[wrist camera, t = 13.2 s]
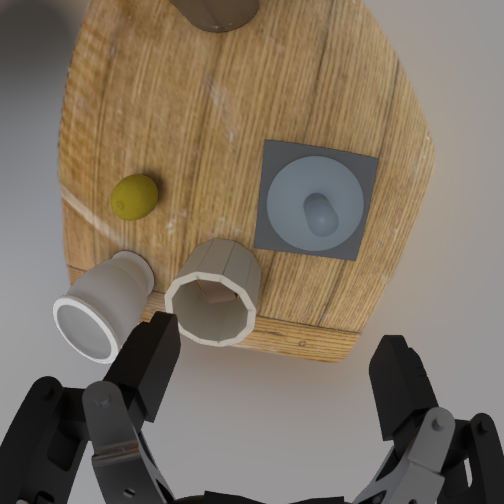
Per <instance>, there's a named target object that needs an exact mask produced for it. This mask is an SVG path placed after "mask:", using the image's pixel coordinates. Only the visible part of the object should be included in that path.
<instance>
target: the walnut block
mask: <svg viewBox="0 0 504 504" xmlns="http://www.w3.org/2000/svg"><path fill="white" fill-rule="evenodd" d="M199 281H200V283H201V286H202V288H203V291H204V293H205V296H206V298H207V300H208V303H214V302H221V301H228V300H235V299H237V295H238V293H236V292H235V291H233V290H231V289H230V288H228V287H227V286H225V285H224V284H222V283H221V282H216V281H209V280H202V279H199Z"/></svg>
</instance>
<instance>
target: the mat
mask: <svg viewBox="0 0 504 504" xmlns="http://www.w3.org/2000/svg"><path fill="white" fill-rule="evenodd" d="M307 156H324V157H328V158H331V159H334V160H336V161H338V162H340V163H341V164H343V165H344V166H346V167H347V168H348V169H349V170H350V171H351V172H352V173H353V174H354V176H355V177H356V178H357V180H358V182H359V184H360V186H361V189H362V193H363V199H364V208H363V214H362V217H361V220H360V222H359V225H358V226H357V228H356V230H355V231H354V232H353V233H352V235H351V236H350V237H349V238H348V239H346V240H345V241H344V242H342V243H341V244H339V245H337V246H335V247H333V248H330V249H326V250H321V251H308V250H303V249H300V248H297V247H294V246H292V245H290V244H289V243H287V242H286V241H284V240H283V239H282V238H281V237H280V236H279V235H278V234H277V232H276V231H275V230H274V228H273V226H272V225H271V222H270V220H269V217H268V212H267V197H268V191H269V188H270V185H271V183H272V181H273V179H274V178H275V176H276V175H277V174H278V172H279V171H280V170H281V169H282V168H283V167H285V166H286V165H287V164H289V163H290V162H292V161H294V160H296V159H299V158H302V157H307ZM378 160H379V159H377V158H373V157H368V156H364V155H359V154H355V153H350V152H345V151H339V150H334V149H328V148H323V147H317V146H310V145H304V144H297V143H289V142H282V141H273V140H265V145H264V154H263V164H262V174H261V184H260V193H259V203H258V213H257V223H256V232H255V242H254V248H258V249H266V250H274V251H282V252H290V253H298V254H306V255H313V256H321V257H329V258H337V259H345V260H352V261H356V259H357V255H358V251H359V248H360V244H361V240H362V236H363V232H364V228H365V224H366V220H367V215H368V211H369V206H370V202H371V197H372V192H373V187H374V182H375V177H376V171H377V166H378Z"/></svg>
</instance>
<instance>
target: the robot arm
mask: <svg viewBox="0 0 504 504" xmlns="http://www.w3.org/2000/svg"><path fill="white" fill-rule="evenodd" d="M169 1H170V2H171V3H172V4H173V5H174V6H175V7H176V8H177V9H178V10H179V11H180V12H181V13H182V14H183V15H184V16H185V17H186V18H187V19H188V20H189V21H190V22H191V23H192V24H193V25H194V26H196V27H197V28H199V29H201V30H204V31H208V32H226V31H230V30H234V29H236V28H238V27H241V26H242V25H244V24H245V23H247V22H248V21H249V20H250V19H251V18H252V17H253V16H254V15H255V13H256V12H257V9H258V6H259V0H169ZM180 347H181V342H180V334H179V327H178V319H177V315H176V314H172V313H167V312H161V311H156V312H155V314H154V316H153V317H152V319H151V321H150V322H149V323H148V322H144V321H143V322H141V323H140V324H139V325H137V326H136V327H135V328H134V329H133V330H132V331H131V333H130V335H129V336H128V338H127V341H125V343H124V345H123V346H122V349H121V350H120V351H119V353H118V355H117V356H116V358H115V360H114V362H113V363H112V365H111V367H110V369H109V370H108V372H107V374H106V376H105V377H104V379H103V380H102V381H97V382H95V383H92V384H91V385H89V386H88V387H87V388H86V389H78V388H67V387H63V386H62V385H61V383H60V382H59V381H58V380H57V379H56V378H54V377H51V376H45V377H42V378H40V379H38V380H37V381H35V382H34V384H33V385H32V387H31V388H30V390H29V392H28V394H27V395H26V397H25V399H24V401H23V402H22V404H21V406H20V408H19V410H18V412H17V414H16V415H15V417H14V419H13V421H12V423H11V425H10V427H9V429H8V432H7V433H6V435H5V438H4V440H3V442H2V444H1V446H0V504H67V501H68V498H69V495H70V492H71V488H72V485H73V482H74V479H75V476H76V473H77V470H78V467H79V465H80V462H81V459H82V456H83V453H84V451H85V448H86V445H87V442H88V441H92V445H93V449H94V455H93V456H92V458H91V460H92V466H93V469H94V472H95V475H96V478H97V481H98V484H99V487H100V489H101V492H102V495H103V497H104V500H105V502H106V504H265V503H261V502H258V501H254V500H251V499H248V498H245V497H242V496H237V495H229V494H222V493H216V492H210V491H205V493H204V495H197V496H189V497H184V498H180V499H177V500H176V499H175V497H174V495H173V493H172V492H171V490H170V488H169V486H168V485H167V483H166V481H165V479H164V477H163V476H162V474H161V473H160V471H159V469H158V467H157V465H156V463H155V460H154V458H153V456H152V454H151V452H150V449H149V447H148V445H147V442H146V440H145V438H144V435H143V433H142V430H141V428H142V425H143V423H144V420H145V421H149V422H152V423H153V422H154V420H155V417H156V415H157V412H158V409H159V406H160V404H161V401H162V399H163V396H164V393H165V391H166V388H167V385H168V383H169V380H170V377H171V375H172V372H173V369H174V367H175V364H176V362H177V359H178V357H179V353H180ZM423 367H424V366H423V364H422V361H421V359H420V357H419V355H418V354H417V353H416V352H415V351H414V350H413V349H412V348H408V346H407V343H406V341H405V339H404V337H403V336H402V335H384V336H383V337H382V339H381V341H380V343H379V345H378V347H377V349H376V351H375V353H374V355H373V357H372V359H371V361H370V364H369V376H370V380H371V385H372V389H373V393H374V398H375V402H376V407H377V412H378V417H379V421H380V427H381V431H382V437H383V441H388V440H393V441H394V445H393V446H392V448H391V449H390V451H389V453H388V454H387V456H386V458H385V460H384V461H383V463H382V465H381V466H380V468H379V470H378V471H377V473H376V475H375V476H374V478H373V479H372V481H371V482H370V484H369V485H368V486H367V487H366V488H365V489H364V490H363V491H362V492H361V493H360V494H359V495H358V496H357V497H356V499H355V500H354V501H353V502H352V503H349V502H344V496H341V497H330V498H314V499H313V498H312V499H308V500H304V501H300V502H295V503H291V504H435V501H436V500H437V504H504V455H503V451H502V447H501V444H500V440H499V437H498V433H497V430H496V427H495V424H494V421H493V420H492V418H491V417H490V416H489V415H487V414H485V413H478V414H476V415H475V416H474V417H473V418H472V419H471V420H470V421H467V420H458V419H454V417H453V416H452V414H451V413H450V412H449V411H448V410H446V409H444V408H441V407H439V405H438V403H437V400H436V397H435V394H434V392H433V389H432V386H431V384H430V381H429V379H428V377H427V374H426V371H425V369H424V368H423ZM467 458H469V463H470V468H471V473H472V484H471V486H470V487H468V482H467V475H466V470H465V465H464V460H466V459H467Z"/></svg>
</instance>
